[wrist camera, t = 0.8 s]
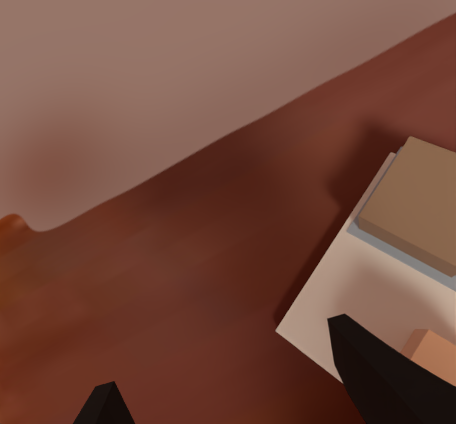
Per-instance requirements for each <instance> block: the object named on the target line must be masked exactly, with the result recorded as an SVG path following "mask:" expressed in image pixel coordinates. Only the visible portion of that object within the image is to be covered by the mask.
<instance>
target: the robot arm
mask: <svg viewBox="0 0 456 424" xmlns="http://www.w3.org/2000/svg"><path fill="white" fill-rule="evenodd" d="M327 321H328V328H329V334H330V341H331V347H332V354H333V360H334V365H335V367H336V369H337V371H338V374H339V376H340V378H341V380H342V382H343V384H344V386H345V388H346V390H347V392H348V394H349V396H350V398H351V399H352V401H353V403H354V404H355V406H356V407H357V409H358V411H359V412H360V414H361V416H362V417H363V419H364V421H365V422H366V424H456V386H454V385H452V384H450V383H448V382H447V381H445V380H443V379H441V378H440V377H438V376H436V375H434V374H433V373H431V372H430V371H428V370H426V369H425V368H423V367H421V366H420V365H418V364H416V363H415V362H413V361H412V360H410V359H409V358H407V357H405V356H404V355H402V354H401V353H399V352H398V351H397V350H395V349H394V348H392V347H391V346H389V345H388V344H386V343H385V342H383V341H382V340H380V339H379V338H378V337H376V336H375V335H373V334H372V333H371V332H369V331H368V330H367V329H365V328H364V327H363V326H361V325H360V324H359V323H357V322H356V321H355V320H353V319H352V318H351V317H349V316H348V315H346V314H345V313H344V314H341V315H338V316H334V317H331V318H327ZM73 424H135V422H134V420H133V418H132V416H131V414H130V412H129V410H128V408H127V406H126V404H125V402H124V400H123V398H122V396H121V394H120V392H119V390H118V388H117V386H116V384H115V382H114V381H113V382H109V383H106V384H102V385H99V386H96V387H95V388H94V390H93V392H92V393H91V395H90V396H89V398H88V400H87V401H86V403H85V405H84V406H83V408H82V409H81V411H80V413H79V414H78V416H77V418H76V419H75V421H74V423H73Z"/></svg>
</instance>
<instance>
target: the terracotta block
mask: <svg viewBox="0 0 456 424" xmlns="http://www.w3.org/2000/svg"><path fill="white" fill-rule="evenodd" d="M400 353H401V354H402V355H404V356H405V357H407V358H409V359H410V360H412V361H413V362H415V363H416V364H418V365H420V366H421V367H423V368H425V369H426V370H428V371H430V372H431V373H433V374H434V375H436V376H438V377H440V378H441V379H443V380H445V381H447V382H448V383H450V384H452V385H454V386H456V346H455V345H454V344H452V343H450V342H449V341H447V340H446V339H444V338H442V337H441V336H439V335H437V334H436V333H434V332H433V331H431V330H429V329H415V330H414V331H413V333H412V334H411V336H410V338H409V339H408V341H407V343H406V344H405V346H404V347H403V349H402V351H401V352H400Z"/></svg>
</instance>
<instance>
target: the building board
mask: <svg viewBox="0 0 456 424" xmlns="http://www.w3.org/2000/svg"><path fill="white" fill-rule="evenodd" d="M344 313H345V314H346V315H348V316H349V317H351V318H352V319H353V320H355V321H356V322H357V323H359V324H360V325H361V326H363V327H364V328H365V329H367V330H368V331H369V332H371V333H372V334H373V335H375V336H376V337H378V338H379V339H380V340H382V341H383V342H385V343H386V344H388V345H389V346H391V347H392V348H394V349H395V350H397V351H398V352H399V353H400V352H401V351H402V349H403V347H404V346H405V344H406V343H407V341H408V339H409V338H410V336H411V334H412V333H413V331H414V330H415V329H429V330H431V331H433V332H434V333H436V334H437V335H439V336H441V337H442V338H444V339H446V340H447V341H449V342H450V343H452V344H454V345H455V346H456V153H455V152H452V151H449V150H447V149H444V148H441V147H438V146H436V145H433V144H430V143H428V142H425V141H422V140H420V139H417V138H414V137H411V136H410V137H409V138H408V140H407V141H406V143H405V145H404V146H403V147H400V149H399V150H398V152H397V154H395V153H392V152H391V153H390V154H389V156H388V157H387V159H386V160H385V162H384V163H383V165H382V166H381V168H380V170H379V171H378V173H377V174H376V176H375V177H374V179H373V180H372V182H371V183H370V185H369V187H368V188H367V190H366V191H365V193H364V194H363V196H362V197H361V199H360V201H359V202H358V204H357V205H356V207H355V208H354V210H353V211H352V213H351V214H350V216H349V218H348V219H347V221H346V222H345V224H344V225H343V227H342V228H341V230H340V231H339V233H338V235H337V236H336V238H335V239H334V241H333V242H332V244H331V245H330V247H329V248H328V250H327V252H326V253H325V255H324V256H323V258H322V259H321V261H320V262H319V264H318V266H317V267H316V269H315V270H314V272H313V273H312V275H311V276H310V278H309V279H308V281H307V283H306V284H305V286H304V287H303V289H302V290H301V292H300V293H299V295H298V296H297V298H296V300H295V301H294V303H293V304H292V306H291V307H290V309H289V310H288V312H287V314H286V315H285V317H284V318H283V320H282V321H281V323H280V324H279V326H278V327H277V329H276V332H277V333H279V334H280V335H281V336H282V337H284V338H285V339H286V340H288V341H289V342H290V343H291V344H293V345H294V346H295V347H297V348H298V349H299V350H301V351H302V352H303V353H304V354H306V355H307V356H308V357H310V358H311V359H312V360H313V361H315V362H316V363H317V364H319V365H320V366H321V367H322V368H324V369H325V370H326V371H328V372H329V373H330V374H331V375H333V376H334V377H335V378H337V379H338V380H339V381H340V382H342V380H341V378H340V376H339V374H338V371H337V369H336V367H335V365H334V360H333V354H332V347H331V341H330V334H329V328H328V321H327V318H331V317H334V316H338V315H341V314H344ZM342 383H343V382H342Z"/></svg>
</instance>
